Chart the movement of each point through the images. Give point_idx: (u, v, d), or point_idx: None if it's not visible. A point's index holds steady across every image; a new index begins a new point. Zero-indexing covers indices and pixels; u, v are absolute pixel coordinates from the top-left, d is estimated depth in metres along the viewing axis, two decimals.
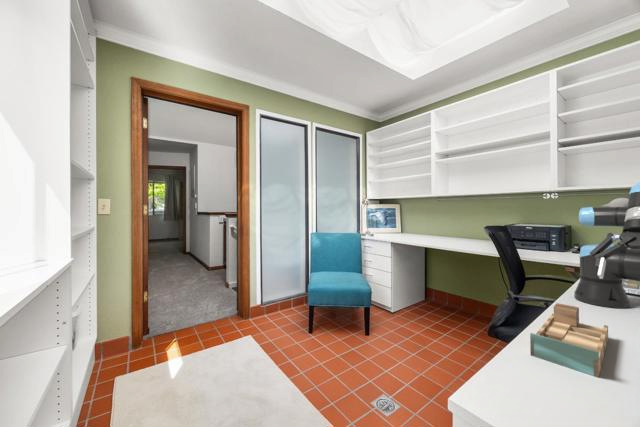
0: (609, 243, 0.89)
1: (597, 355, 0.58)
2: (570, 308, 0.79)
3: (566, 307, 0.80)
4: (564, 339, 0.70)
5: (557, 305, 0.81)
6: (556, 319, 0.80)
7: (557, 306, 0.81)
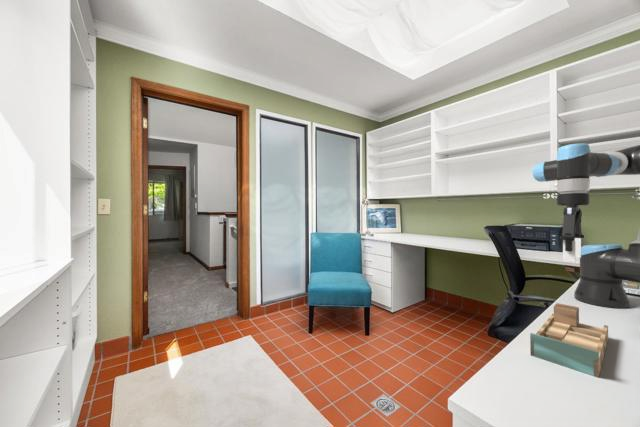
0: None
1: (597, 355, 0.58)
2: (570, 308, 0.79)
3: (566, 307, 0.80)
4: (564, 339, 0.70)
5: (557, 305, 0.81)
6: (556, 319, 0.80)
7: (557, 306, 0.81)
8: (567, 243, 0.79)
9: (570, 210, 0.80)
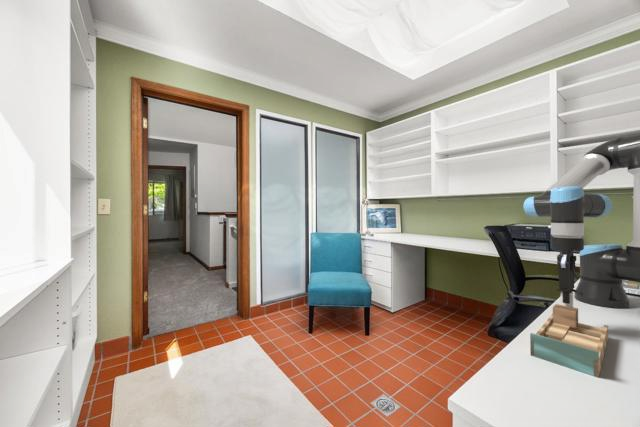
0: None
1: (597, 355, 0.58)
2: (569, 309, 0.78)
3: (565, 308, 0.79)
4: (564, 339, 0.70)
5: (556, 306, 0.80)
6: (555, 320, 0.79)
7: (556, 307, 0.80)
8: (564, 295, 0.80)
9: (564, 265, 0.77)
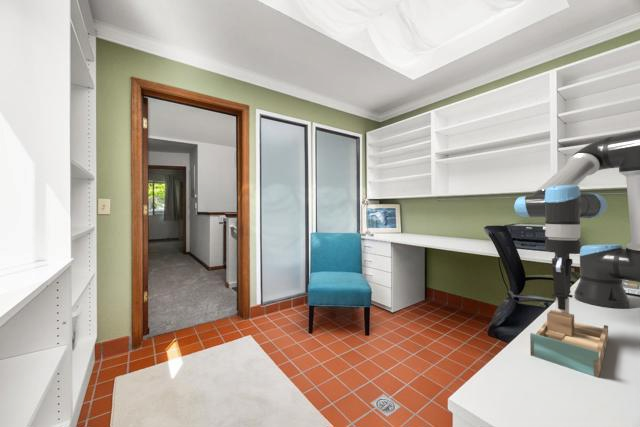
0: None
1: (597, 355, 0.58)
2: (565, 316, 0.73)
3: (560, 315, 0.74)
4: (564, 339, 0.70)
5: (551, 312, 0.76)
6: (550, 327, 0.74)
7: (551, 313, 0.75)
8: (560, 301, 0.75)
9: (559, 269, 0.72)
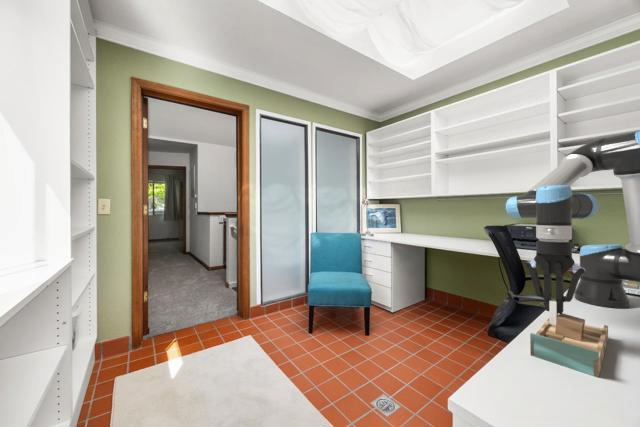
0: (536, 272, 0.77)
1: (597, 355, 0.58)
2: (575, 320, 0.70)
3: (571, 319, 0.71)
4: (564, 339, 0.70)
5: (561, 315, 0.73)
6: (558, 331, 0.72)
7: (561, 317, 0.72)
8: (562, 305, 0.73)
9: None
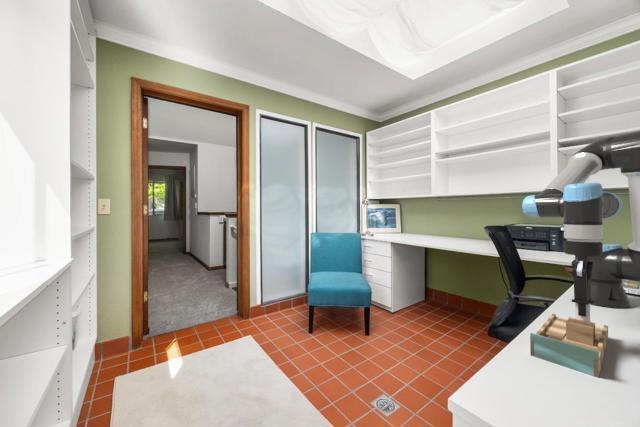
0: None
1: (597, 355, 0.58)
2: (585, 324, 0.68)
3: (580, 323, 0.69)
4: (564, 339, 0.70)
5: (570, 320, 0.71)
6: (569, 337, 0.69)
7: (570, 321, 0.70)
8: (580, 307, 0.70)
9: (580, 273, 0.67)
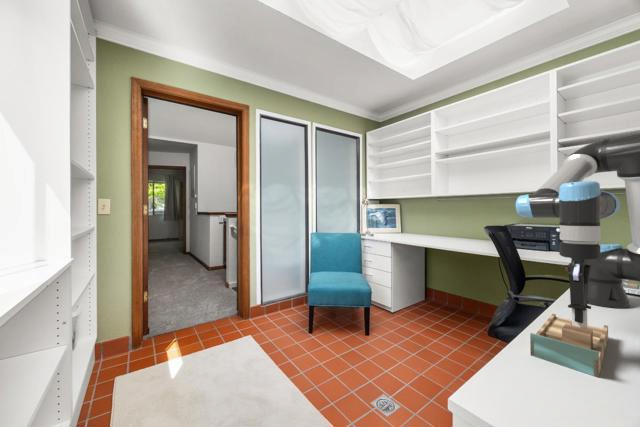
0: None
1: (597, 355, 0.58)
2: (582, 331, 0.64)
3: (577, 330, 0.65)
4: None
5: (566, 327, 0.67)
6: None
7: (566, 328, 0.66)
8: (577, 313, 0.67)
9: (577, 277, 0.64)
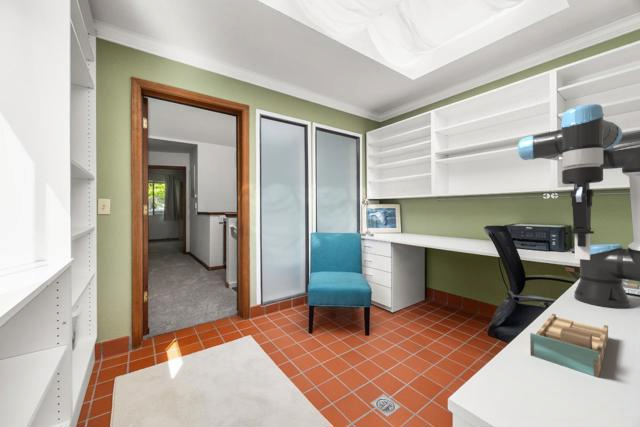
0: None
1: (597, 355, 0.58)
2: (581, 334, 0.63)
3: (576, 333, 0.64)
4: None
5: (565, 329, 0.65)
6: None
7: (565, 331, 0.65)
8: (580, 237, 0.67)
9: (580, 198, 0.64)
